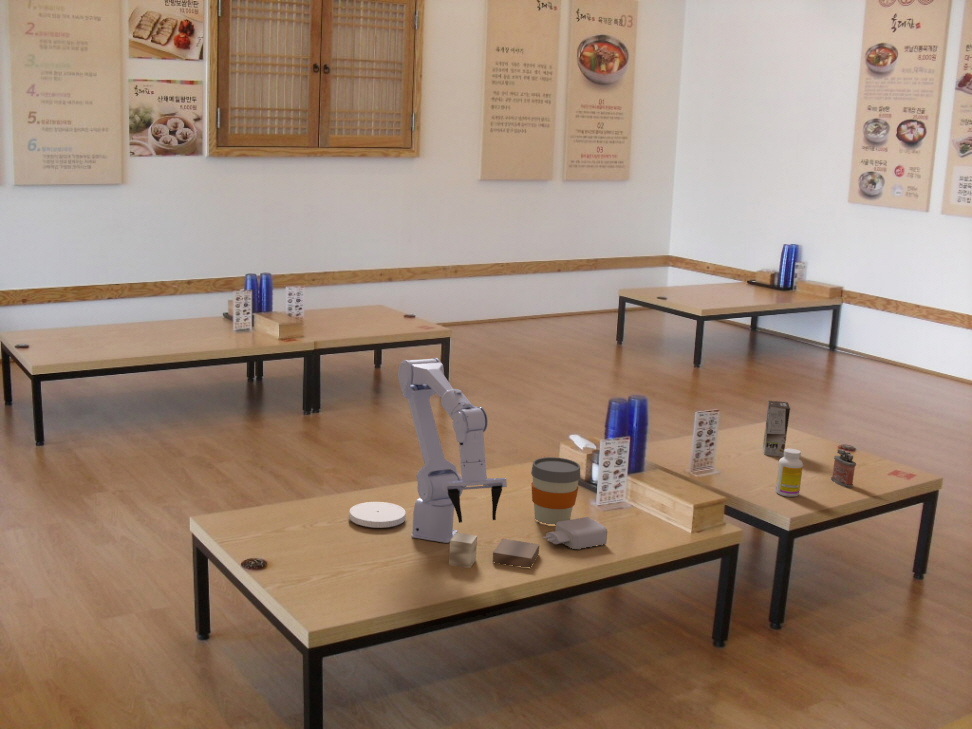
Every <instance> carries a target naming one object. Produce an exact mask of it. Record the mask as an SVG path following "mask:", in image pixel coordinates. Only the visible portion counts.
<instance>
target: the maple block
mask: <svg viewBox="0 0 972 729" xmlns="http://www.w3.org/2000/svg"><path fill="white" fill-rule="evenodd" d="M477 545H478V535H474V534H467V533H462V532H457V533H456V534H455V535H454V536H453V537H452V539H451V540H450V542H449V553H448V554H449V555H448V556H449V557H448V566H453V567H461V568H464V569H465V568H467V569H471V568H472V566H473V564H474V563H475V562H476V561H477Z"/></svg>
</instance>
